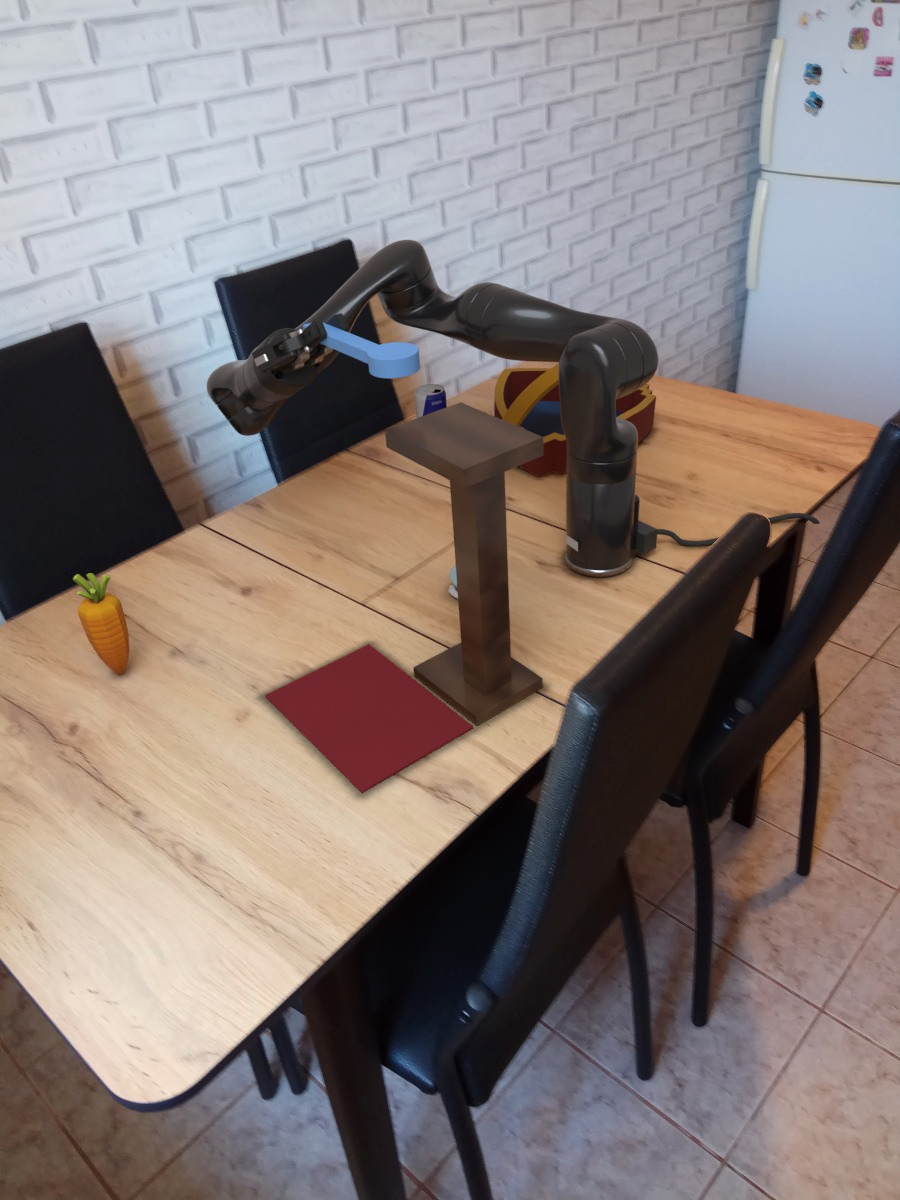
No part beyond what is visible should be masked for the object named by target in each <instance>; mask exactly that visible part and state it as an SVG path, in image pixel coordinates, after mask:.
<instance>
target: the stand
mask: <svg viewBox="0 0 900 1200" xmlns="http://www.w3.org/2000/svg"><path fill="white" fill-rule="evenodd" d="M384 435H385V445H386V448H387V449H389V450H390V451H393V452H394V453H396V454H398V455H400V456H402V457H404V458H406V459H408V460H410V461H412V462H413V463H416V464H417V465H420V466H422V467H423V468H425V469H427V470H429V471H431V472H433V473H435V474H437V475H439V476H440V477H443V478H445V479H446V480H448V481H449V489H450V503H451V506H450V507H451V517H452V532H453V533H452V534H453V545H454V547H453V548H454V559H455V567H456V576H457V589H456V591H457V592H458V599H457V602H458V603H457V605H458V617H459V629H460V630H459V632H460V642H459V643H457V644H455V645H453V646H450V647H449V648H447V649H445V650H444V651H441V652H440V653H437V654H435V655H434V656H432V657H430V658H428V659H426V660H425V661H422V662H420V663H419V664H417V665H415V666H413V667H412V669H413V677H414V678H415V679H416V680H417V681H418V682H420V683H421V684H422V685H424V686H425V687H426V688H428V689H429V690H431V691H432V692H433V693H434V694H435V695H437V696H438V697H439V698H440V699H442V700H443V701H444V702H446V703H447V704H448V705H450V706H451V707H452V708H454V710H455V711H457V712H458V713H459V714H461V715H462V716H464V717H465V718H466V719H467V720H469V722H471V723H472V724H474V725H475V726H476V727H478V726H480V725H482V724H483V723H485V722H486V721H488V720H490V719H492V718H493V717H495V716H498V714H500V713H502V712H505V710H507V709H509V708H511V707H512V706H514V705H515V704H517V703H519V702H521V701H523V700H524V699H526V698H527V697H529V696H531V695H533V694H535V693H537V692H538V691H540V690H542V689H543V677H542V676H540V675H538V674H537V673H536V672H534V671H533V670H531V669H530V668H529V667H526V665H524V664H522V663H521V662H520V661H518V660H516V659H515V658H514V657H512V653H511V652H512V650H511V622H510V621H511V620H510V619H511V618H510V592H509V591H510V588H509V587H510V586H509V564H508V563H509V562H508V561H509V560H508V534H507V533H508V532H507V531H508V529H507V504H506V502H507V500H506V477H505V475H506V473H505V472H508V471H510V470H512V469H514V468H517V467H520V465H522V464H524V463H527V462H529V461H531V460H534V459H536V458H539V457H541V456H543V437H542V436H539V435H537V434H535V433H532V432H530V431H528V430H525V429H523V428H520V427H518V426H516V425H513V424H511V423H509V422H506V421H504V420H502V419H499V418H497V417H494V415H492V414H489V413H488V412H485V411H483V410H480V409H478V408H475V407H474V406H471V405H468V404H466V403H464V402H458V403H455V404H452V405H450V406H447V408H444V409H441V410H438V411H435V412H433V413H430V414H427V415H424V416H422V417H419V418H417V417H416V418H414V419H411V420H408V421H405V422H403V423H399V424H397V425H394V426H391V427H389V428H386V429H384Z"/></svg>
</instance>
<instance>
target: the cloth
mask: <svg viewBox="0 0 900 1200" xmlns="http://www.w3.org/2000/svg"><path fill="white" fill-rule="evenodd" d="M264 697H265V698H266V699H267V700H268V701H269V702H270V703H271V705H273V706H274V707H275V708H276V710H278V711H279V712H280V713H281V714H282V715H283V716H284V717H285V718H286V719H287V720H288V721H289V723H291V724H292V725H293V726H294V727H295V728H296V729H297V730H298V731H299V733H301V734H302V735H303V736H304V737H305V738H306V740H307V741H309V742H310V743H311V745H313V746H314V747H315V748H316V749H317V750H318V751H319V753H321V754H322V755H323V756H324V757H325V758H326V759H327V760H328V761H329V762H330V763H331V764H332V765H333V766H334V767H335V768H336V769H337V770H338V771H339V773H341V774H342V776H344V777H345V778H346V779H347V780H348V781H349V782H350V783H351V784H352V785H353V786H354V787H355V789H357V790H358V791H359V792H360V793H361V794H363V793H365V792H367V791H369V790H370V789H372V788H373V787H376V786H377V785H379V784H381V783H382V782H384V781H386V780H387V779H389V778H391V777H392V776H394V775H396V774H398V773H400V772H401V771H403V770H404V769H406V768H408V767H409V766H411V765H413V764H415V763H416V762H418V761H420V760H422V759H423V758H425V757H427V756H429V755H430V754H432V753H433V752H436V751H437V750H439V749H441V748H442V747H444V746H446V745H447V744H449V743H451V742H452V741H454V740H456V739H458V738H459V737H461V736H463V735H464V734H466V733H468V732H470V731H471V730H473V729H474V726H473V725H472V724H471V723H469V722H468V721H467V720H466V719H465V718H463V717H462V716H460V715H459V714H458V713H457V712H456V711H454V710H453V709H452V708H451V707H450V706H449V705H447V704H446V703H444V702H443V701H442V700H440V699H439V698H438V697H437V696H436V695H434V694H433V693H432V692H430V691H429V690H428V689H427V688H425V687H424V686H423V685H422V684H421V683H419V681H417V680H415V679H414V678H413V677H411V675H409V674H408V673H406V672H405V671H404V670H403V669H401V668H400V667H399V666H398V665H396V664H395V663H394V662H393V661H391V660H390V659H389V658H388V657H386V656H385V655H384V654H382V653H381V651H379V650H378V649H376V648H375V647H374V646H372V645H371V644H370V643H368V644H366V645H364V646H362V647H359V648H358V649H356V650H354V651H351V652H350V653H348V654H346V655H344V656H342V657H340V658H337V659H336V660H334V661H332V662H330V663H328V664H325V665H323V666H322V667H319V668H317V669H315V670H314V671H311V672H309V673H307V674H305V675H303V676H301V677H299V678H298V679H295V680H293V681H291V682H289V683H287V684H284V685H282V686H281V687H279V688H277V689H275V690H273V691H271V692H269V693H266V694H265V695H264Z"/></svg>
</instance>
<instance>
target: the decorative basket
mask: <svg viewBox="0 0 900 1200" xmlns="http://www.w3.org/2000/svg"><path fill="white" fill-rule="evenodd" d="M558 372H559V363H557V364H555V365H554V366H552V367H517V368H516V367H514V368H504V369H503V370H502V371H501V373H500V375H499V376H498V378H497V381H496V383H495V387H494V388H495V389H494V396H493V397H494V398H493V399H494V402H493V403H494V405H493V407H494V408H493V411H494V413H493V414H494V415H493V416H494V417H497V418H499V419H502V420H504V421H506V422H509V423H511V424H513V425H516V426H518V427H520V428H523V429H525V430H528V431H530V432H532V433H535V434H537V435H539V436H542V437H543V456H541V457H539V458H536V459H534V460H531V461H529V462H527V463H524V464H522V465H520V466H519V467H520V468H521V469H523V470H524V471H526V472H528V473H529V474H531V475H533V476H536V477H537V478H541V477H543V476H546V475H548V474H551V473H555V474H558V475H560V474H564V473H566V454H567V442H566V437H565V434H564V431H563V428H562V424H561V416H560V395H559V375H558ZM656 402H657V395H655V394H653V389H650V384H649V383H647V384H646V385H644V386H643V387H642V388H640V389H638V390H637V391H635V392H633V393H631V394H628V395H626V396H624V397H621V398H619V399H617V400H616V417H618V418H622V419H624V420H627V421H629V422H631V423H632V424H633V425H634V426H635V427H636V429H637V432H638V443H640V442H641V441H642V440H643V439H644V438H645V437H646V436H647V435H648V434H649V433H650V432H651V430H652V429H653V427H654V418H655V410H656Z"/></svg>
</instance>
